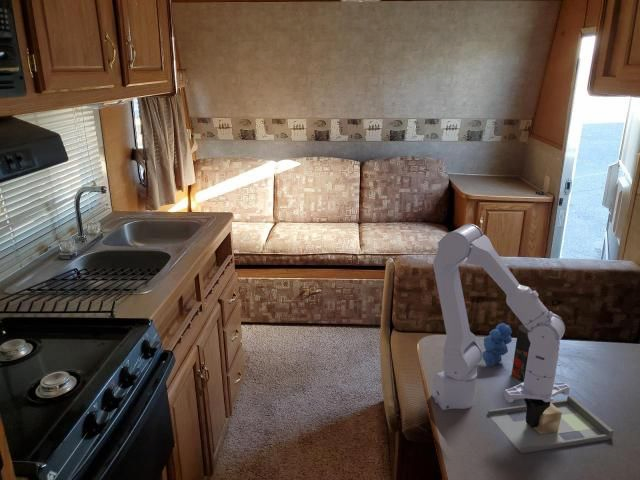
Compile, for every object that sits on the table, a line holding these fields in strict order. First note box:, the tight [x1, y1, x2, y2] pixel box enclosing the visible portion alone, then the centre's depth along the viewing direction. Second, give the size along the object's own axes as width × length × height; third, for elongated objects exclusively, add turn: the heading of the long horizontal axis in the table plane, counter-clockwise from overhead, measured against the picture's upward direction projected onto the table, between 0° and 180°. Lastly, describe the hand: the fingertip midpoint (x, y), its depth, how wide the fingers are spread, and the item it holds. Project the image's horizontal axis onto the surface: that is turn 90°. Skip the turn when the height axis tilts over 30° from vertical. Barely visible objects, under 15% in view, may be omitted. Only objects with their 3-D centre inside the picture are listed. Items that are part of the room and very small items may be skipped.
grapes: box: [482, 322, 513, 367], centre depth 135 cm, size 12×7×12 cm, turn 128°
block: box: [534, 402, 562, 434], centre depth 107 cm, size 4×4×5 cm
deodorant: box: [511, 323, 531, 383], centre depth 126 cm, size 6×6×15 cm
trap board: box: [487, 394, 615, 454], centre depth 108 cm, size 22×13×4 cm, turn 103°
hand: (531, 424), depth 107 cm, fingers closed, pressing on block
